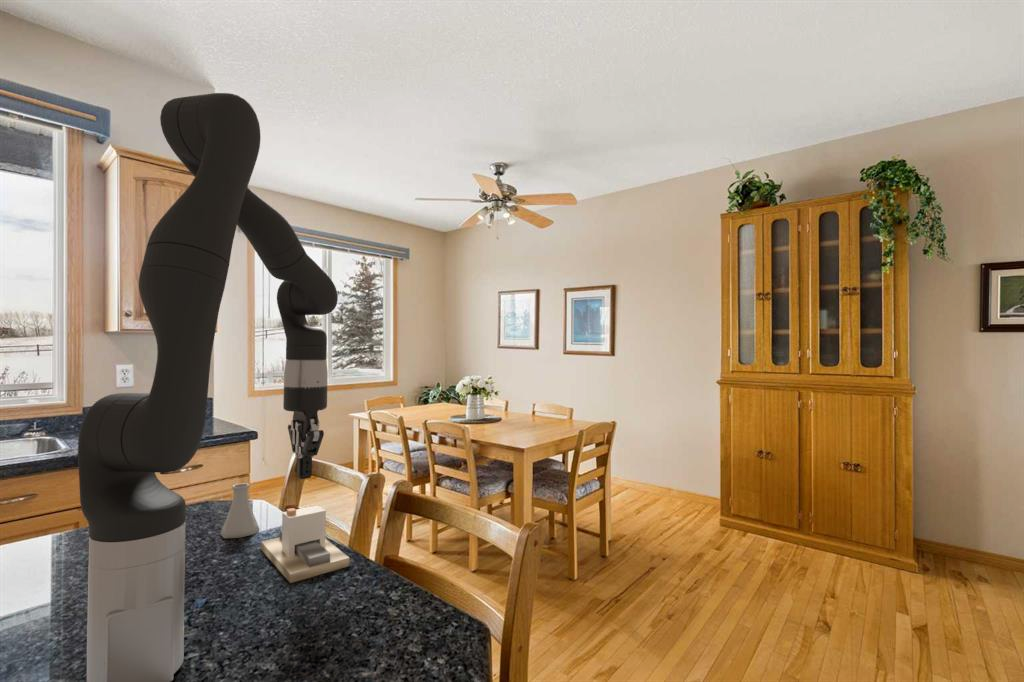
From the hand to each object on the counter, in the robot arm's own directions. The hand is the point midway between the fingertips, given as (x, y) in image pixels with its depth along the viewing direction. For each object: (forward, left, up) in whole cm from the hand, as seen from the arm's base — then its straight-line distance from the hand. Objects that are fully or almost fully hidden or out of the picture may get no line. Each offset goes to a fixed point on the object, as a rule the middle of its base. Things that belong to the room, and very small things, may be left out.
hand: (304, 477), depth 92 cm
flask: (+21, +6, -15) cm, 26 cm away
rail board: (0, 0, -15) cm, 15 cm away
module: (0, 0, -13) cm, 13 cm away
